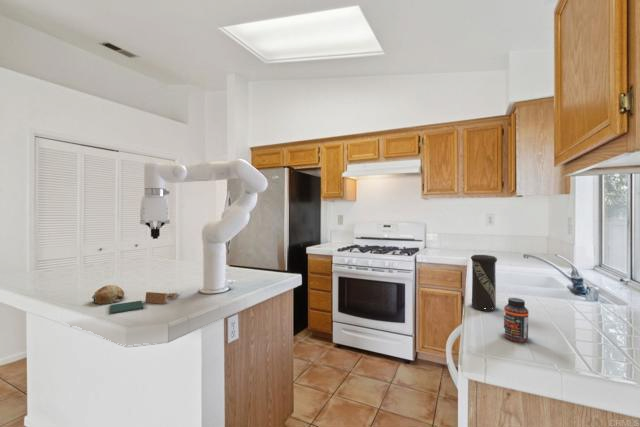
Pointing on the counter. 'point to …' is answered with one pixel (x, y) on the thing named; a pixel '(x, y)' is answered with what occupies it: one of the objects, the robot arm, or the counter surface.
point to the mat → (126, 307)
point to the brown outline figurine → (158, 297)
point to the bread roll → (108, 294)
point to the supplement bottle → (516, 320)
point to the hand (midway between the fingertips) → (155, 238)
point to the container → (483, 282)
